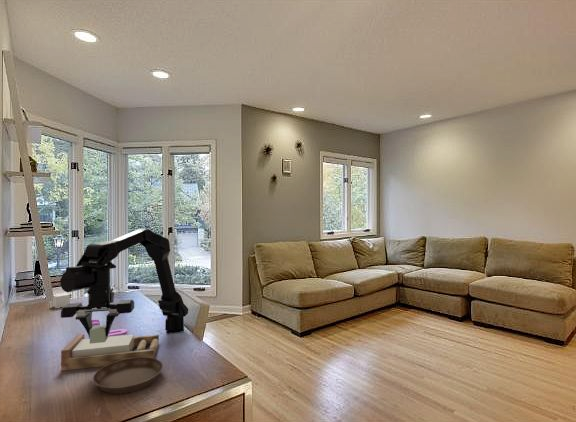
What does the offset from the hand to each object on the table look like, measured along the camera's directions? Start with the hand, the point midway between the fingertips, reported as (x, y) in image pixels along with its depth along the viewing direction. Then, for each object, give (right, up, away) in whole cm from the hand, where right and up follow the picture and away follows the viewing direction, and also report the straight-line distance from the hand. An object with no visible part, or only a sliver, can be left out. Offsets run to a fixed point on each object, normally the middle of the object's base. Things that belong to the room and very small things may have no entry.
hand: (99, 336), depth 101 cm
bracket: (-12, -11, +28) cm, 32 cm away
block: (0, -1, 0) cm, 1 cm away
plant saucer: (+12, -10, -6) cm, 17 cm away
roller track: (0, -10, +10) cm, 14 cm away
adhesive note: (-59, -11, +70) cm, 93 cm away
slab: (-3, -8, +9) cm, 12 cm away
